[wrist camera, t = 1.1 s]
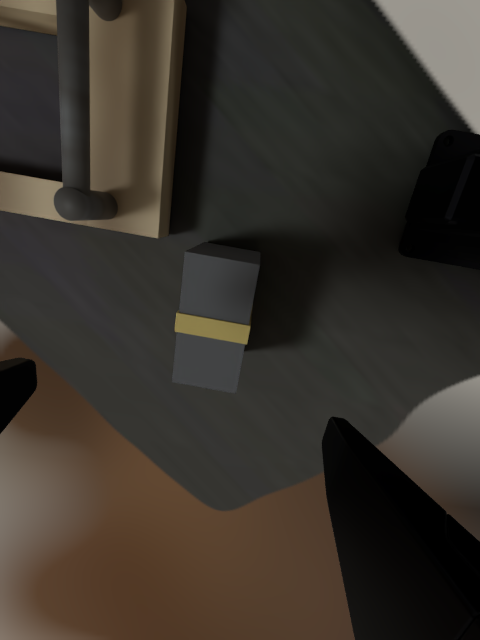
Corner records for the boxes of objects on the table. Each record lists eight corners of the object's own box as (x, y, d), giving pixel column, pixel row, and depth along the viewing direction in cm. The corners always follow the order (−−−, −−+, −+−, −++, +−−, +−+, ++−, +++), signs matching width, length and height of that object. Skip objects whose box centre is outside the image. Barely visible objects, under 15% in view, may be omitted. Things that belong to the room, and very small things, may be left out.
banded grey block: (262, 252, 18) (262, 265, 14) (243, 353, 21) (237, 394, 16) (203, 241, 18) (182, 251, 14) (190, 343, 21) (169, 382, 16)
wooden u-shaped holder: (186, 6, 15) (149, -97, 10) (168, 236, 18) (134, 243, 14) (-91, -40, 15) (-264, -166, 10) (-53, 196, 19) (-166, 190, 14)
